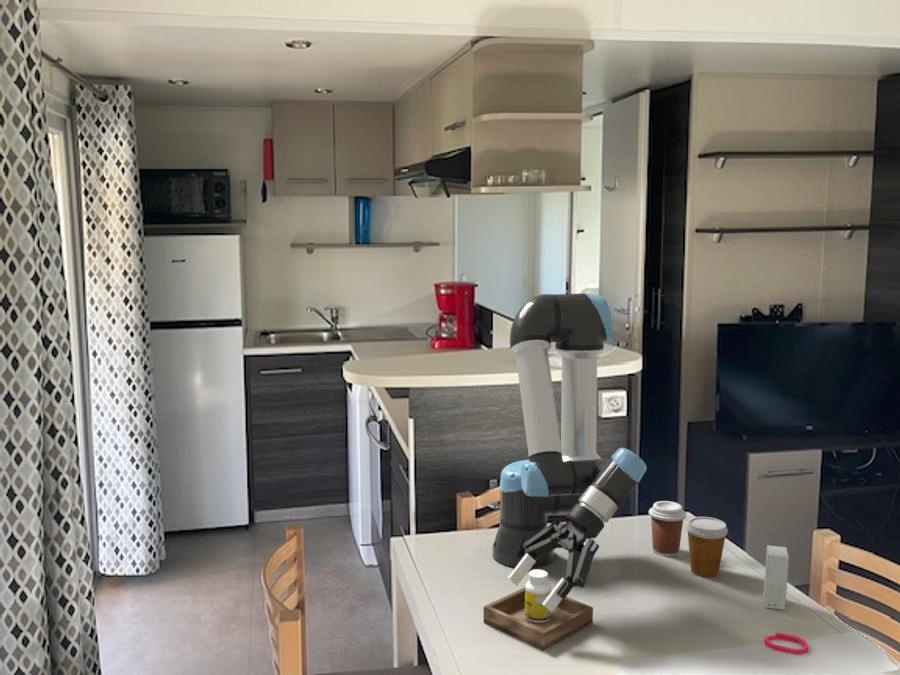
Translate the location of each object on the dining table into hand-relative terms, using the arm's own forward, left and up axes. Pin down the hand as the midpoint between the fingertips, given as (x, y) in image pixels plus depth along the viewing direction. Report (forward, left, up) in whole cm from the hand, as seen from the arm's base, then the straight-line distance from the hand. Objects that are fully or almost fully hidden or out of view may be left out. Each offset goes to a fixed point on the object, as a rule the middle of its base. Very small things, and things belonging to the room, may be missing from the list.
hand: (528, 594), depth 176 cm
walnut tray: (+1, +2, -7) cm, 7 cm away
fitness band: (+41, +30, -7) cm, 51 cm away
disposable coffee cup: (+12, +50, -7) cm, 52 cm away
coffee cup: (-1, +54, -7) cm, 55 cm away
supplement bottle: (+1, +2, -6) cm, 6 cm away
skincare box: (+31, +46, -7) cm, 56 cm away
